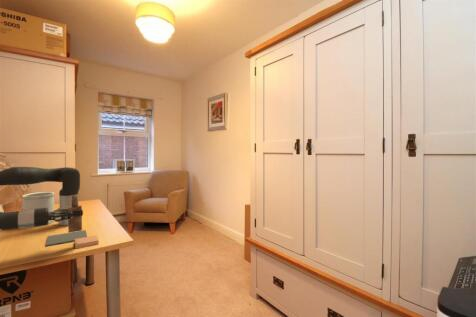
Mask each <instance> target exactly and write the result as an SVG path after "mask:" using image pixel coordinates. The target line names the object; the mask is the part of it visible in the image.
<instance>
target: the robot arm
mask: <svg viewBox="0 0 476 317" xmlns="http://www.w3.org/2000/svg"><path fill="white" fill-rule="evenodd" d="M46 182H52V183H53V182H54V183H55V182H56V183H62V184H61V185H62V187H61V189H60V190H59V192H58V193H59V194H58V196H59V199H58V200H59V207H58V208H57V209H54V211H53V212H48V208H39V209H29V210H23V209H22V210H19V211H18V210H17V211H8V212H2V211H0V230H1V231H10V230H19V229H31V228H36V227H46V226H48V225H49V224H48V220H54V222H57V224H58V225H60V226H61V227H62V226H68V219H71V218H72V217H76V216H82V217H83V215H84V211H83V209H82V211H74V212H68V207H70V206H72V196H73V195H78V196H79V190H80V189H81V174H80V171H79V170H78V169H77V168H74V167H69V166H67V167H65V166H64V167H57V168H43V167H42V168H41V167H35V166H14V167H13V166H12V167H9V168H6V169H3V170H0V186H24V185H27V186H28V185H36V184H40V183H46ZM78 206H80V204H79V200H78Z"/></svg>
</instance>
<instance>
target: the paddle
mask: <svg viewBox="0 0 476 317" xmlns="http://www.w3.org/2000/svg"><path fill="white" fill-rule="evenodd" d="M78 201H79V194H78V195H73V196H72V206H70V207H68V212H74V211H82V210H83V207H82V205H80V204H79V206H78ZM82 219H83V215H82V216H76V217H72V218H71V219H68V225H67V227H68V230H67V233H70V232H77V231H83V223H82V222H83V220H82Z"/></svg>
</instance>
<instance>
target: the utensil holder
mask: <svg viewBox="0 0 476 317" xmlns="http://www.w3.org/2000/svg"><path fill="white" fill-rule="evenodd" d="M21 198H22V206H23V208H22V211H23V210H29V209H39V208H48V212H53V211H54V210H55V192H53V191H40V192H38V191H37V192H32V193H27V194H23V195H21ZM54 222H55V221H54V220H48V225H49V224H52V223H54Z"/></svg>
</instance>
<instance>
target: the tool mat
mask: <svg viewBox="0 0 476 317" xmlns="http://www.w3.org/2000/svg"><path fill="white" fill-rule="evenodd" d="M87 234H88V233H87V230H86V229H84V230H83V229H82V230H81V231H75V232H69V233H68V232H66V233H65V232H64V233H60V234H59V233H58V234H54V235H53V234H52V235H47V237H46V243H45V247H52V246H56V245H62V244H66V243H67V244H68V243H75V239H78V238H84V237H88V235H87Z"/></svg>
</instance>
